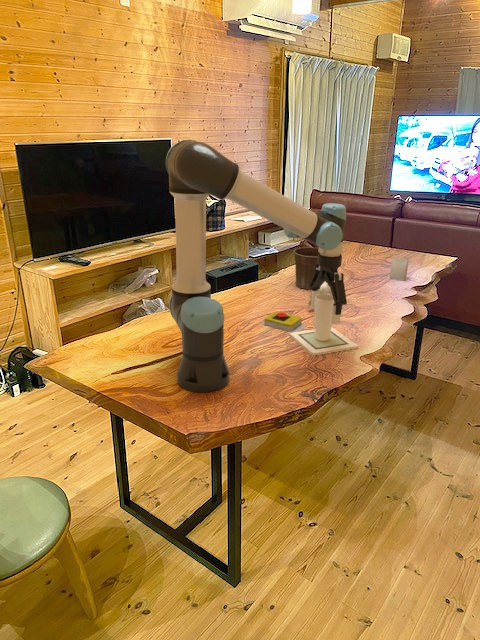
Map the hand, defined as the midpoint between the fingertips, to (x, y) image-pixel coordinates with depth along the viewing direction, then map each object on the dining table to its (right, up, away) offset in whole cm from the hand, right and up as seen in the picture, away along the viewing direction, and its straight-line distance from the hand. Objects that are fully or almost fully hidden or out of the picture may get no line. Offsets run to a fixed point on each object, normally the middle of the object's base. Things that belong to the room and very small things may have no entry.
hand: (324, 315), depth 163 cm
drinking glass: (0, -8, +4) cm, 9 cm away
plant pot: (+3, +14, +60) cm, 61 cm away
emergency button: (-12, -4, +18) cm, 22 cm away
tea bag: (+48, +18, +72) cm, 88 cm away
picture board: (0, -9, +4) cm, 10 cm away
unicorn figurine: (+3, +5, +38) cm, 38 cm away
